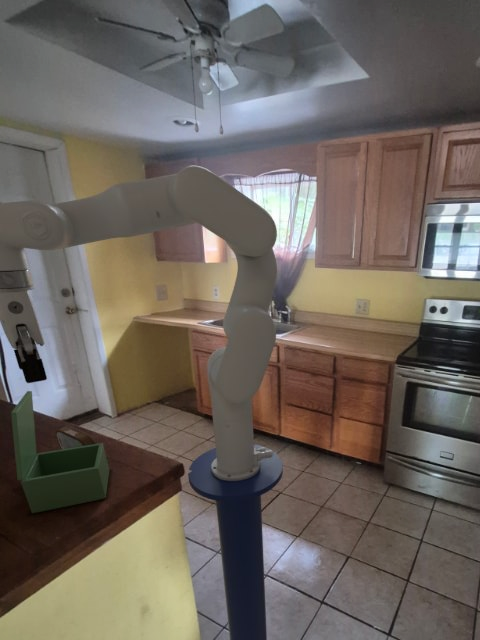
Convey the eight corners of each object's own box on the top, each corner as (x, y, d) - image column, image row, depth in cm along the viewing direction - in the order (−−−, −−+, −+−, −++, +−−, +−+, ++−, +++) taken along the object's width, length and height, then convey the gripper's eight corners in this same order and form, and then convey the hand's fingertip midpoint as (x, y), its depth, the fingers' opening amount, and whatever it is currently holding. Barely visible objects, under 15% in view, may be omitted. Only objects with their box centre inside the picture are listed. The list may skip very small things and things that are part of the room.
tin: (105, 465, 92) (97, 435, 88) (92, 471, 89) (85, 441, 86) (70, 449, 99) (63, 420, 95) (58, 454, 96) (50, 425, 93)
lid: (31, 391, 77) (27, 391, 77) (16, 412, 68) (10, 412, 67) (36, 451, 82) (32, 452, 82) (22, 479, 72) (17, 480, 72)
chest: (109, 470, 90) (103, 442, 87) (105, 498, 80) (98, 468, 77) (44, 482, 85) (34, 453, 82) (31, 513, 75) (20, 482, 72)
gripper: (39, 284, 60) (64, 382, 67) (25, 276, 72) (47, 360, 79) (-20, 287, 56) (14, 392, 63) (-24, 278, 68) (4, 367, 75)
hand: (32, 374), depth 71 cm, fingers open, 9 cm apart
